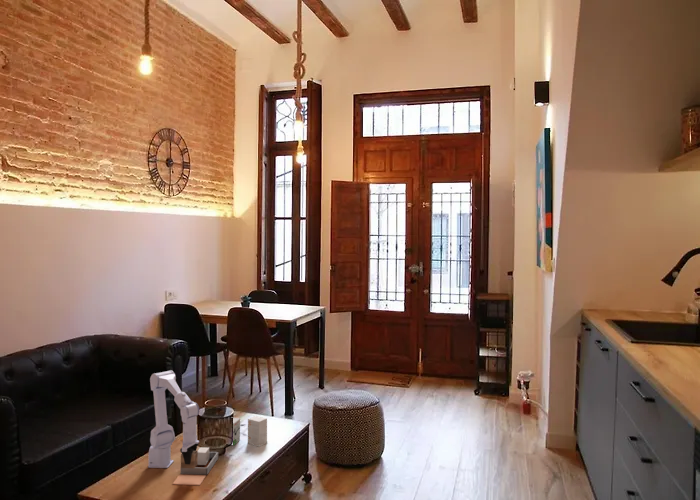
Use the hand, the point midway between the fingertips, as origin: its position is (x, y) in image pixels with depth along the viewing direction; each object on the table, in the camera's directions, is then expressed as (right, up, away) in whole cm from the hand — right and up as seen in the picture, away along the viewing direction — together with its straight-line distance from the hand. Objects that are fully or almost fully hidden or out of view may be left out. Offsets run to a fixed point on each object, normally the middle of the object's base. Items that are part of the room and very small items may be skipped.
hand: (189, 461), depth 241 cm
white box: (+1, -8, +19) cm, 21 cm away
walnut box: (0, -2, 0) cm, 2 cm away
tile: (0, -8, 0) cm, 8 cm away
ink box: (+10, -7, +44) cm, 45 cm away
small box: (+23, -8, +43) cm, 49 cm away
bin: (0, -8, +15) cm, 17 cm away
